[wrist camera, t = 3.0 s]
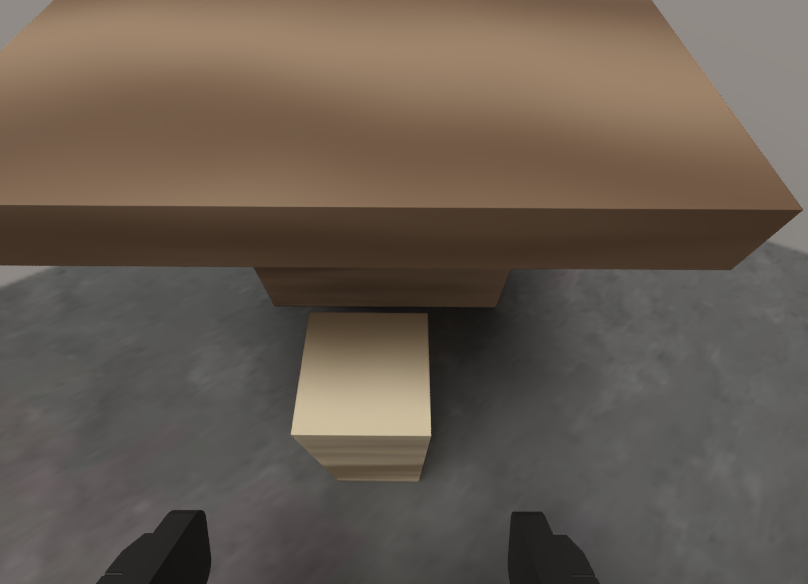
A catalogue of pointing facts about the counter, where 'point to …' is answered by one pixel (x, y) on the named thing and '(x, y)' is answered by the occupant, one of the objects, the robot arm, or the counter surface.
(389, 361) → the oak block
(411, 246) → the walnut shelf
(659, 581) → the counter surface
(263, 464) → the counter surface
